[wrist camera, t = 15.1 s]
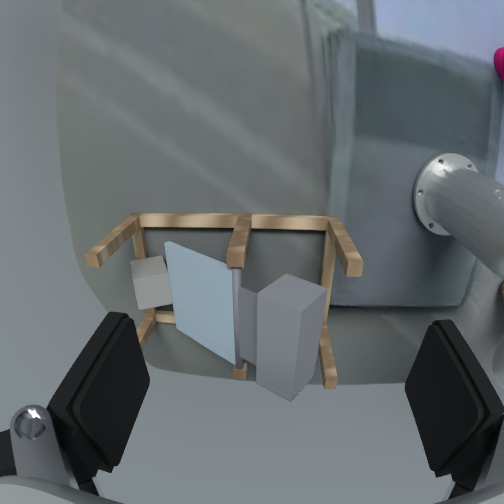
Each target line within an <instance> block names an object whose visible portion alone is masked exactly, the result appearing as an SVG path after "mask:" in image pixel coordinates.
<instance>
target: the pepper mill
mask: <svg viewBox="0 0 504 504" xmlns="http://www.w3.org/2000/svg"><path fill="white" fill-rule="evenodd" d="M494 63H495V67H496V70H497V72H498V74H499V76H500V77H501V78H502V79H503V80H504V47H503V48H499V49H498V50H497V51H496V52H495V55H494Z"/></svg>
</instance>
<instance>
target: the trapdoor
mask: <svg viewBox="0 0 504 504" xmlns="http://www.w3.org/2000/svg"><path fill="white" fill-rule="evenodd" d="M164 244H165V253H166V260H167V268H168V275H169V282H170V289H171V296H172V302H173V309H174V315H175V321H176V327H177V329H178V330H180V331H181V332H183V333H184V334H186V335H187V336H189V337H191V338H192V339H194V340H195V341H197V342H198V343H200V344H201V345H203V346H205V347H206V348H208V349H209V350H211V351H213V352H214V353H216V354H217V355H219V356H221V357H222V358H224V359H226V360H227V361H229V362H231V363H232V364H234V365H235V366H236V368H237V369H242V368H243V359H245V360H247V361H249V362H250V363H252V364H254V365H256V366H257V367H256V383H257V384H259V385H261V386H262V387H264V388H266V389H268V390H269V391H271V392H273V393H275V394H277V395H278V396H281V397H282V398H284V399H286V400H288V401H290V402H291V401H292V400H293V399H294V398H295V397H296V396H297V395H298V394H299V392H300V391H301V390H302V389H303V388H304V387H305V386H306V385H307V383H308V382H309V381H310V380H311V379H312V378H313V375H314V370H315V365H316V359H317V353H318V348H319V342H320V336H321V330H322V323H323V317H324V310H325V304H326V297H327V289H328V288H325V287H322V286H319V285H317V284H314V283H311V282H308V281H306V280H303V279H300V278H297V277H294V276H292V275H289V274H285V275H284V276H282V277H281V278H279V279H278V280H276V281H275V282H273V283H272V284H270V285H269V286H267V287H266V288H264V289H263V290H261V291H260V292H258V293H255V292H252V291H250V290H248V289H245V288H243V287H241V267H227V264H225V263H222V262H220V261H217V260H215V259H212V258H210V257H207V256H205V255H202V254H200V253H197V252H195V251H192V250H190V249H187V248H185V247H182V246H180V245H178V244H175V243H173V242H170V241H168V242H166V243H164Z"/></svg>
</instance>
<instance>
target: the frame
mask: <svg viewBox="0 0 504 504" xmlns="http://www.w3.org/2000/svg"><path fill="white" fill-rule="evenodd" d="M144 227H215V228H234V231H233V234H232V237H231V240H230V243H229V246H228V249H227V252H226V257H227V267H244V266H245V261H246V256H247V250H248V245H249V239H250V234H251V229H252V228H264V229H300V230H326V232H325V243H324V253H323V262H322V271H321V280H320V286H322V287H325V288H328V289H327V297H326V304H325V310H324V317H323V323H322V330H321V336H320V342H319V348H318V350H319V357H320V363H321V371H322V378H323V385H324V389H333V388H336V386H337V382H338V378H337V373H336V367H335V362H334V357H333V352H332V347H331V342H330V337H329V332H328V327H327V322H326V321H327V315H328V308H329V302H330V295H331V288H332V281H333V274H334V266H335V258H336V252H337V255H338V257H339V260H340V262H341V265H342V267H343V270H344V272H345V275H346V276H348V277H361V275H362V269H363V263H364V262H363V260H362V259H361V257H360V255H359V253H358V251H357V249H356V248H355V246H354V244H353V242H352V240H351V239H350V237H349V235H348V233H347V232H346V230H345V228H344V226H343V225H342V223H341V221H340V219H339V218H338V217H328V216H301V215H266V214H192V213H171V214H132V215H131V216H129V217H128V218H127V219H126V220H124V221H123V222H122V223H121V224H120V225H118V226H117V227H116V228H115V229H114V230H112V231H111V232H110V233H109V234H108V235H106V236H105V237H104V238H103V239H102V240H101V241H99V242H98V243H97V244H96V245H95V246H94V247H93V248H91V249H90V250H89V251H88V252H87V253H86V254H85V256H86V260H87V265H88V267H98V268H99V267H100V266H101V265H102V264H103V263H104V262H105V261H106V260H107V259H108V258H109V257H110V256H111V255H112V254H113V253H114V252H115V251H116V250H117V249H118V248H119V247H120V246H121V245H122V244H123V243H124V242H125V241H126V240H127V239H128V238H129V237H130V236H131V235H132V238H133V245H134V251H135V257H136V260H138V259H144V258H148V253H147V246H146V239H145V232H144ZM145 310H146V315H145V316H144V318H143V320H142V322H141V324H140V325H139V327H138V329H137V335H138V339H139V343H140V346H141V350H143V348H144V346H145V344H146V342H147V340H148V338H149V336H150V334H151V332H152V330H153V328H154V326H155V324H156V322H165V323H176V321H175V315H174V311H162V310H157V307H153V308H147V309H145ZM247 367H248V361H247V360H245V359H243V368H242V369H237V368H236V366H235V365H234V364H233V369H232V377H233V379H238V380H246V376H247Z"/></svg>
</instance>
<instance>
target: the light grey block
mask: <svg viewBox="0 0 504 504" xmlns="http://www.w3.org/2000/svg"><path fill="white" fill-rule="evenodd" d="M130 263H131V271H132V279H133V284H134V289H135V294H136V298H137V303H138V308H139V310H142V309H147V308H153V307H158V306H163V305H168V304H173V302H172V296H171V289H170V282H169V275H168V271H167V268H166V265H165V262H164V260H163V257H162V255H161V256H155V257H150V258H144V259H138V260H132V261H130Z"/></svg>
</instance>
